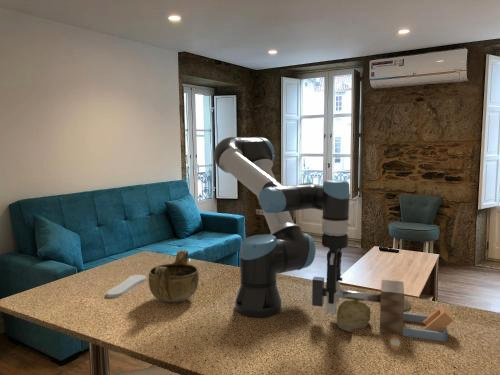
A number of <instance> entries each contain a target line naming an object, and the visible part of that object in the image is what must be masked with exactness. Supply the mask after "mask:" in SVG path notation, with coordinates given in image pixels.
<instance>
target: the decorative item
mask: <svg viewBox="0 0 500 375" xmlns="http://www.w3.org/2000/svg"><path fill="white" fill-rule="evenodd" d="M371 313H372V311H371V308H370V306H368V305H367V304H366V303H365V302H364V301H360V300H352V299H345V300H344V301H342V303H340V305H338V307H337V311H336V325H337V327H338V328H340V329H341V330H343V331H345V332H347V333H353V332H354V330H355V329H356V330H358V329H363V328H366V327H367V326H369V324H370V323H369V322H370V321H371Z"/></svg>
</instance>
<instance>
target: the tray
mask: <svg viewBox="0 0 500 375" xmlns="http://www.w3.org/2000/svg"><path fill="white" fill-rule="evenodd" d="M429 316H430V315H426V314H420V313H419V314H417V313H410V312H404V315H403V322H412V323H413V322H414V323H419V324H424V323H423V321H424V320H425V319H426V318H428V317H429ZM402 336H403V337H410V338H417V339H423V340H430V341H431V340H432V341H439V342H446V343H448V341H449V337H448V336H449V334H448V330H447V326H446V327H445V328H444V329H443V330H441V331H440V332H437V331H430V330H425V329H420V328H413V327H406V326H403V335H402Z"/></svg>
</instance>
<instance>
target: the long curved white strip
mask: <svg viewBox="0 0 500 375" xmlns="http://www.w3.org/2000/svg"><path fill="white" fill-rule="evenodd" d="M146 281H147V276H146V275H144V274H133V275H130V276H129V277H127V279H125V280H124V281H122V282H121V283H119V284H118V285H116V286H113V287H111V288H110V289H109V290H107V291H106V293H105V294H106V295H105V297H106V298H108V299H115V298H119V296H120V297H122V296H124V295H126V293H128V292H129V291H130V290H132V289H133V288H134V287H136V286H139V285H140V284H141V283H144V282H146ZM123 294H124V295H123Z"/></svg>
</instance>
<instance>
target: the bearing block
mask: <svg viewBox="0 0 500 375" xmlns="http://www.w3.org/2000/svg"><path fill="white" fill-rule="evenodd" d="M380 286H381V288H380V289H381V290H380V294H381V305H380V304H379V305H380V309H379V310H380V311H379V312H380V313H379V332H381V333H385V334H387V333H388V334H393V335H394V334H395V335H400V336H401V335H402V336H403V327H404V321H403V315H404V313H405V312H404V311H405V310H404V296H405V285H404V281H398V280H389V279H381V284H380Z"/></svg>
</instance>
